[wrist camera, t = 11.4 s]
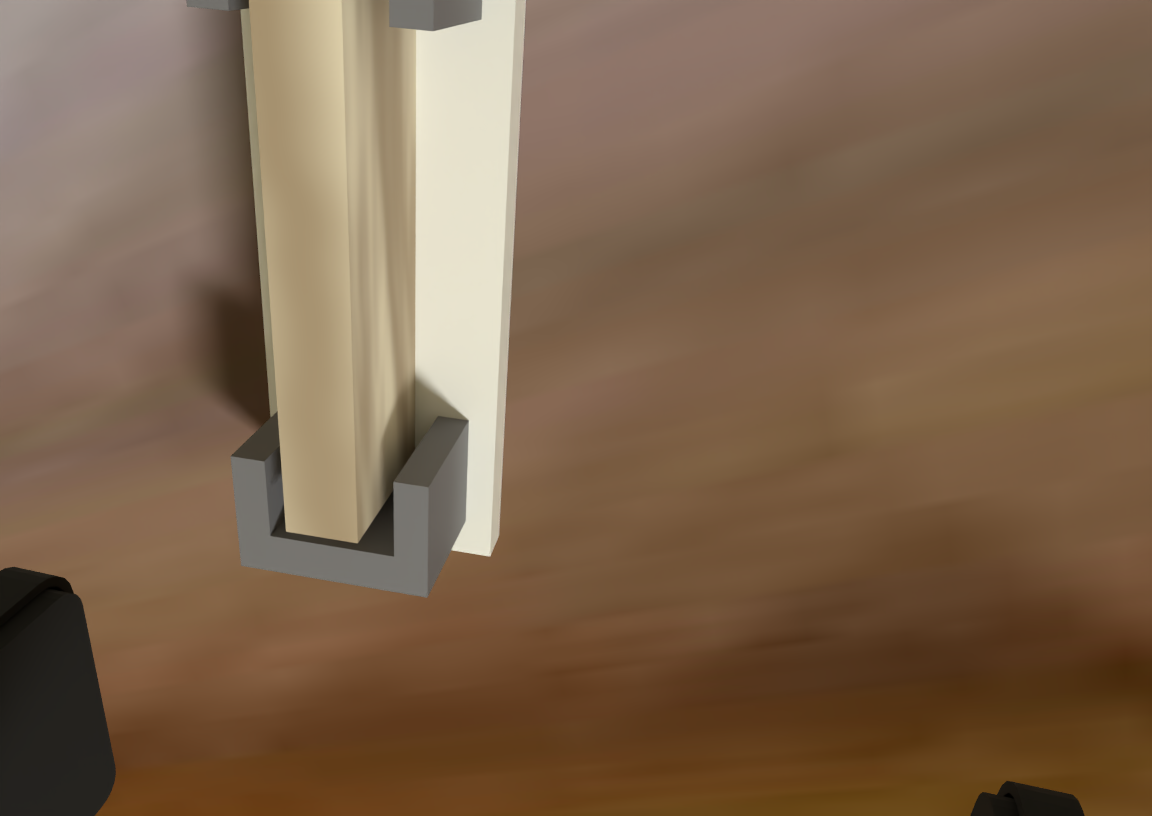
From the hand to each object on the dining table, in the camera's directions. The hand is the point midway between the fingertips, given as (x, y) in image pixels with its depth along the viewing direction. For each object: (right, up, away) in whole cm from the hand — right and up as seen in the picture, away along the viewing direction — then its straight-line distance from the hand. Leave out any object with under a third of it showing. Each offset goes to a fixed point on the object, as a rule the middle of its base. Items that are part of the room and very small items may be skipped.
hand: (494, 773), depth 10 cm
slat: (-6, +10, +23) cm, 26 cm away
